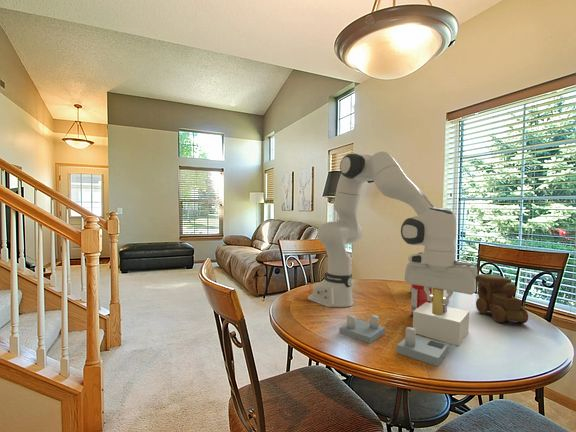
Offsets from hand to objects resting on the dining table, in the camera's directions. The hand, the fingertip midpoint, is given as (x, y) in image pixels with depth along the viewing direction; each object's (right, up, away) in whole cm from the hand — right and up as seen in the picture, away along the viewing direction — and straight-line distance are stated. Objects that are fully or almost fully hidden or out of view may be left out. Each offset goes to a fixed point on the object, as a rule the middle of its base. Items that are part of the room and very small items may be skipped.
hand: (437, 302), depth 94 cm
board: (-20, -15, +14) cm, 29 cm away
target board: (-5, -16, 0) cm, 17 cm away
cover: (+9, -16, +16) cm, 24 cm away
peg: (0, -4, 0) cm, 4 cm away
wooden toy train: (+43, -17, +33) cm, 57 cm away
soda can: (+9, -16, +32) cm, 37 cm away
